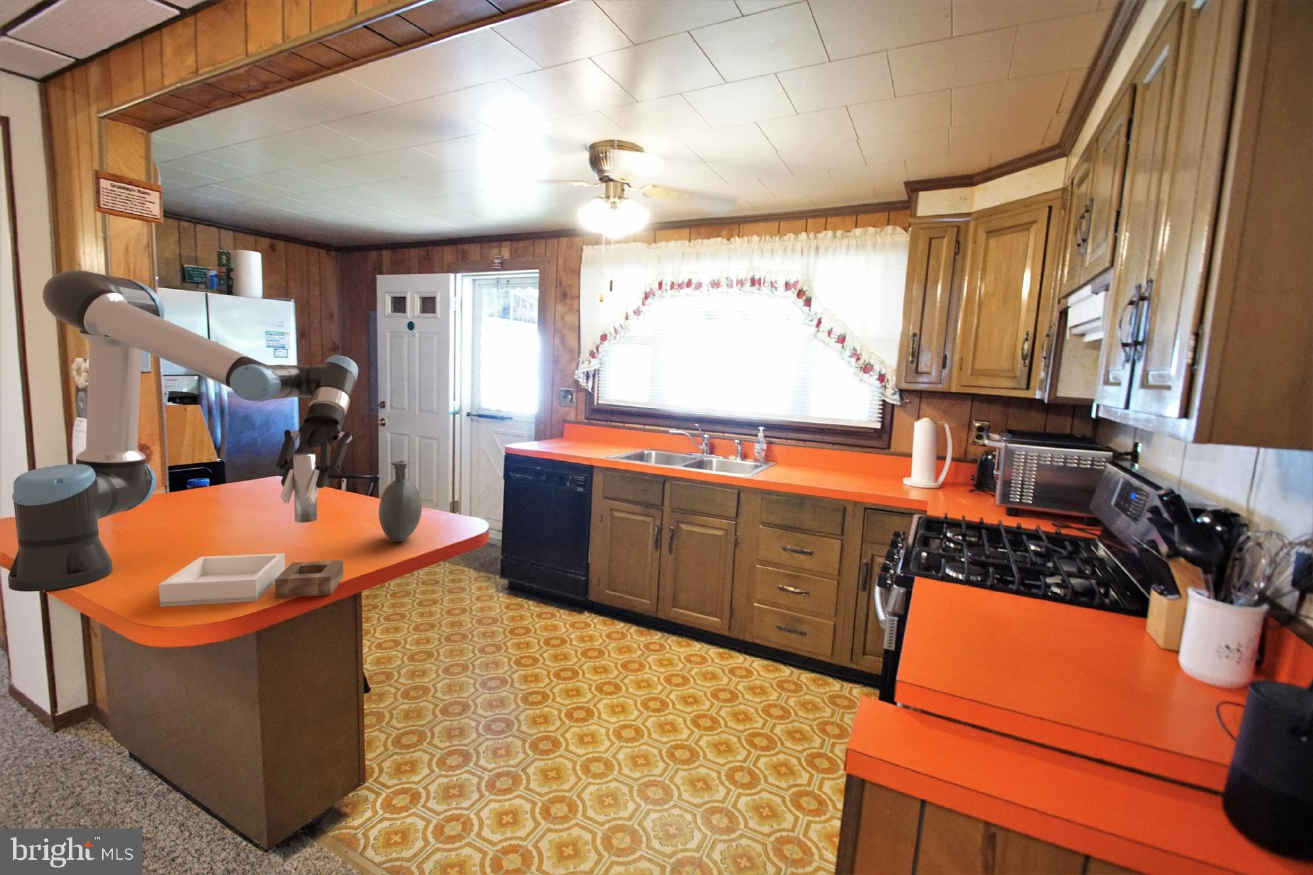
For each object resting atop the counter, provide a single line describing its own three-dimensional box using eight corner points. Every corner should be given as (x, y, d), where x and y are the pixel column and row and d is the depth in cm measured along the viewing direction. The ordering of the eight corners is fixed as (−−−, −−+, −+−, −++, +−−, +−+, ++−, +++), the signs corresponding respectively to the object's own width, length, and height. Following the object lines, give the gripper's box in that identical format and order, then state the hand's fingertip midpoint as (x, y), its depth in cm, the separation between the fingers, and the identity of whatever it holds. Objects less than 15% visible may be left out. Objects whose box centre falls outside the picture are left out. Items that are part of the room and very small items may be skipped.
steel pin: (291, 522, 116) (290, 455, 114) (298, 517, 120) (296, 452, 118) (313, 522, 117) (312, 456, 115) (319, 517, 121) (318, 453, 119)
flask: (362, 548, 146) (361, 465, 143) (396, 530, 163) (395, 455, 160) (406, 551, 146) (405, 467, 143) (435, 532, 162) (435, 457, 160)
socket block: (275, 598, 114) (274, 579, 114) (292, 579, 124) (292, 562, 123) (330, 594, 117) (330, 576, 116) (343, 577, 126) (342, 560, 126)
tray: (160, 606, 108) (158, 584, 107) (201, 576, 123) (200, 556, 122) (256, 601, 112) (255, 579, 112) (285, 572, 127) (284, 553, 127)
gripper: (371, 423, 133) (347, 509, 119) (291, 421, 129) (257, 509, 115) (363, 402, 127) (338, 490, 113) (279, 399, 124) (242, 489, 109)
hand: (297, 499), depth 114 cm, fingers closed on steel pin, 4 cm apart
